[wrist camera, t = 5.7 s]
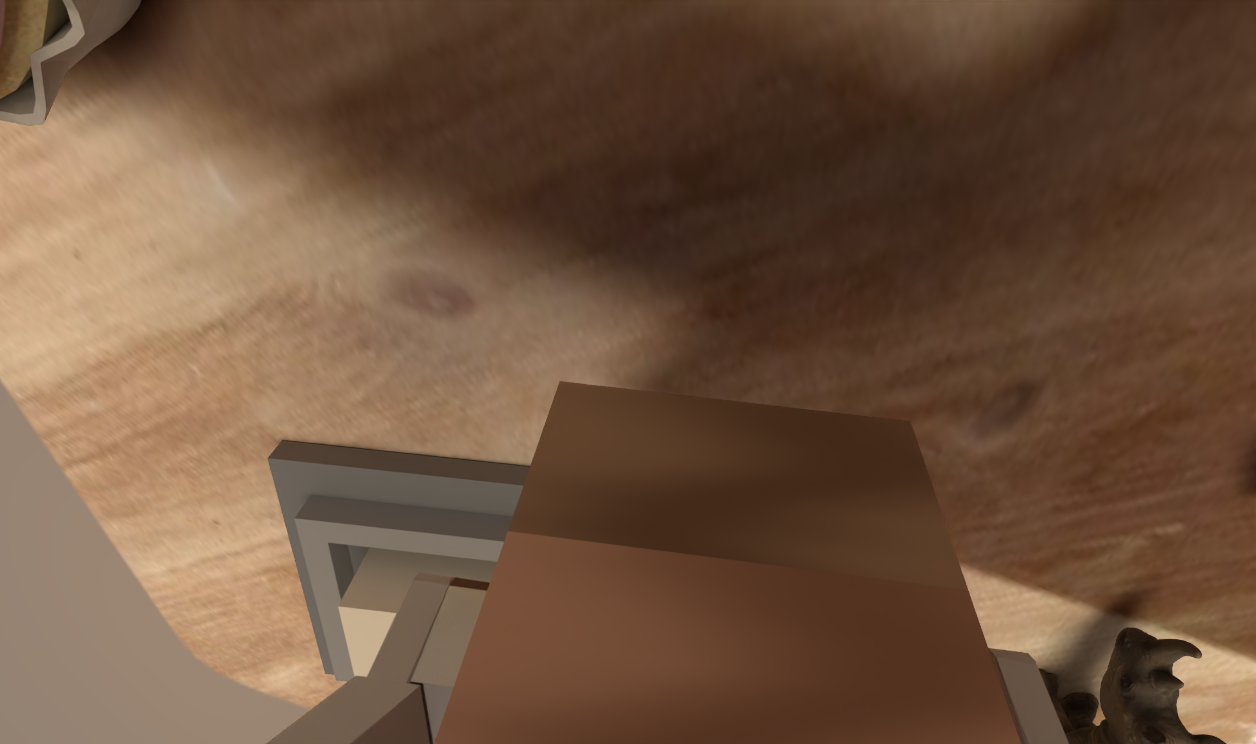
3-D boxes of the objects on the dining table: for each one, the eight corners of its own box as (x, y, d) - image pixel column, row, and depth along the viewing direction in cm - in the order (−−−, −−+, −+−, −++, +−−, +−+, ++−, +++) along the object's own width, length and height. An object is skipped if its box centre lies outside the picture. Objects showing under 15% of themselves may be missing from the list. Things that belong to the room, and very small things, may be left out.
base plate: (847, 500, 25) (868, 591, 22) (786, 708, 32) (795, 803, 28) (281, 440, 26) (218, 519, 23) (335, 653, 33) (291, 739, 29)
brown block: (910, 421, 10) (1080, 918, 5) (834, 644, 13) (899, 1109, 8) (559, 381, 11) (409, 814, 6) (557, 607, 13) (455, 1032, 8)
